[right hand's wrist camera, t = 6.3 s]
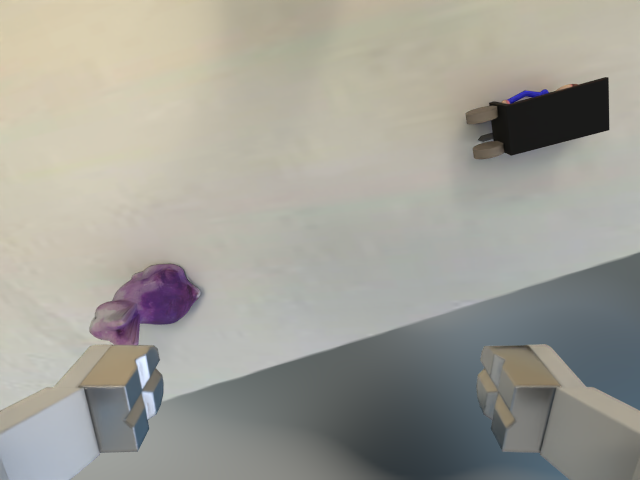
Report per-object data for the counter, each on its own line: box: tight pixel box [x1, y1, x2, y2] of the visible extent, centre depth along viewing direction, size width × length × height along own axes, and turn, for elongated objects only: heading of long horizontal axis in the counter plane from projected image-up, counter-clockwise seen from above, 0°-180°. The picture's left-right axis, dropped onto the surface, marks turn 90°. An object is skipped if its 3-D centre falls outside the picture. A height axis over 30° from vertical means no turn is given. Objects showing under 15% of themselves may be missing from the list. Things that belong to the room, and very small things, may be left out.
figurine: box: [89, 264, 201, 345], centre depth 56 cm, size 9×10×15 cm
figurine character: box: [466, 77, 609, 159], centre depth 51 cm, size 7×8×15 cm
